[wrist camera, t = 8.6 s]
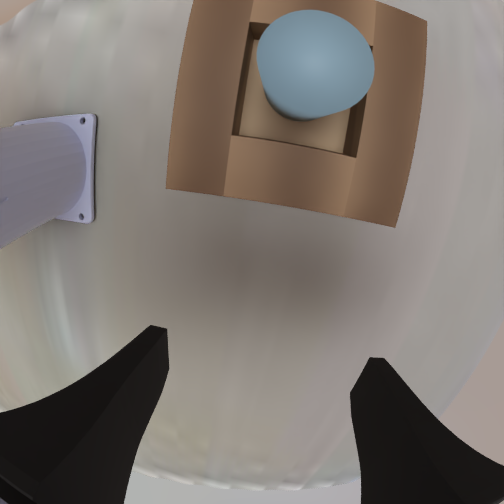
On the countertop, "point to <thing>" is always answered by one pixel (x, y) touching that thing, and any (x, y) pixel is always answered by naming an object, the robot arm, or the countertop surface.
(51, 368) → the countertop surface
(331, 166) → the walnut holder
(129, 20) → the countertop surface
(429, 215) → the countertop surface
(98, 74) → the countertop surface
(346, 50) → the peg
